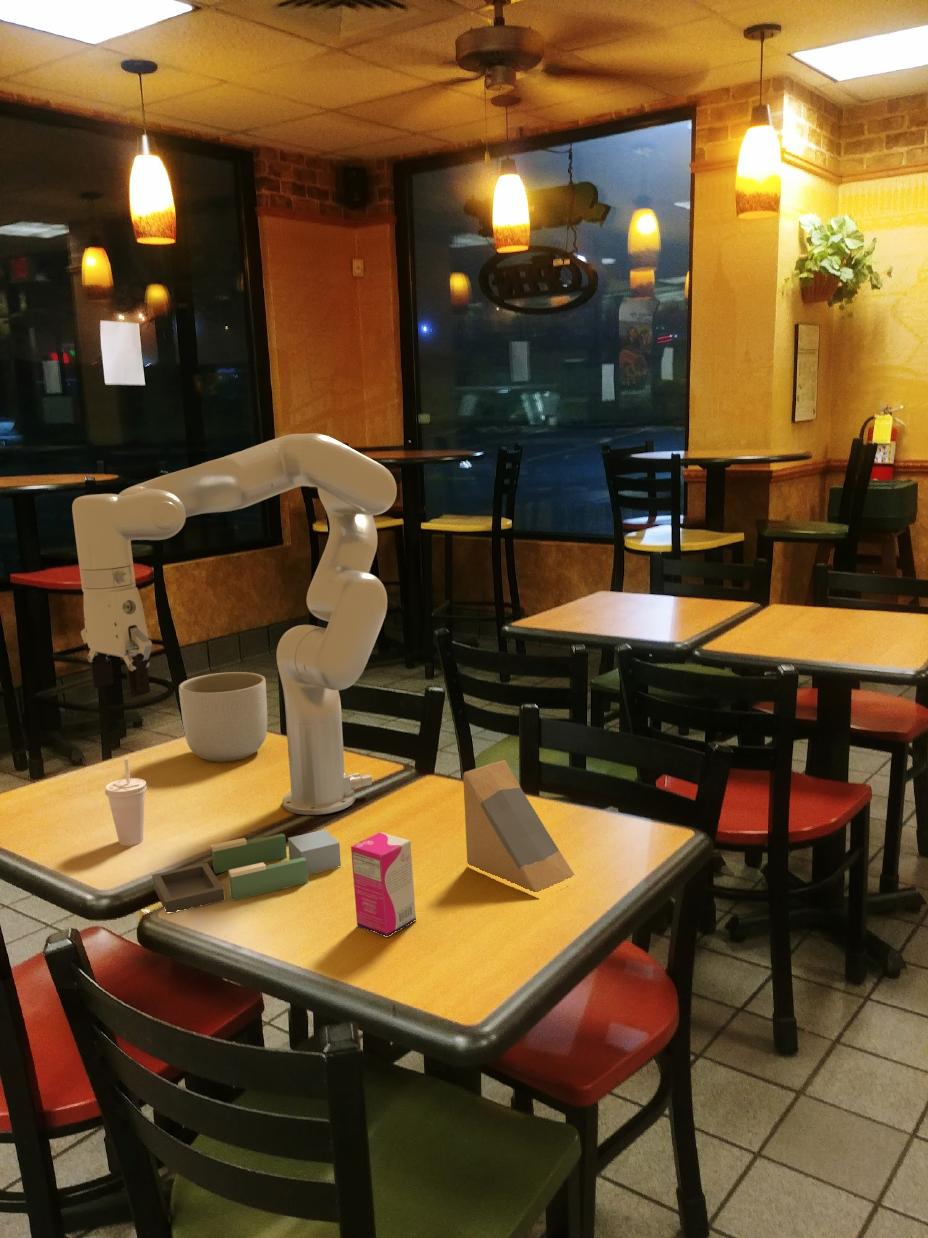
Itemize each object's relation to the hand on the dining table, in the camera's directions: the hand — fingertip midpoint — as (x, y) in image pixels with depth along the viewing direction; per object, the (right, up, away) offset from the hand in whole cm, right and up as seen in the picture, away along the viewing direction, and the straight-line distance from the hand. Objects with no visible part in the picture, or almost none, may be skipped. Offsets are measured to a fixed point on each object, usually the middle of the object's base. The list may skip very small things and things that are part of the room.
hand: (121, 690), depth 155 cm
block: (+29, -27, 0) cm, 39 cm away
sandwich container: (+60, -27, -6) cm, 66 cm away
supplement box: (+41, -30, -19) cm, 54 cm away
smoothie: (-2, -25, +11) cm, 28 cm away
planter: (+4, -17, +54) cm, 57 cm away
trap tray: (+12, -29, -8) cm, 32 cm away
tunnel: (+22, -27, -3) cm, 35 cm away
